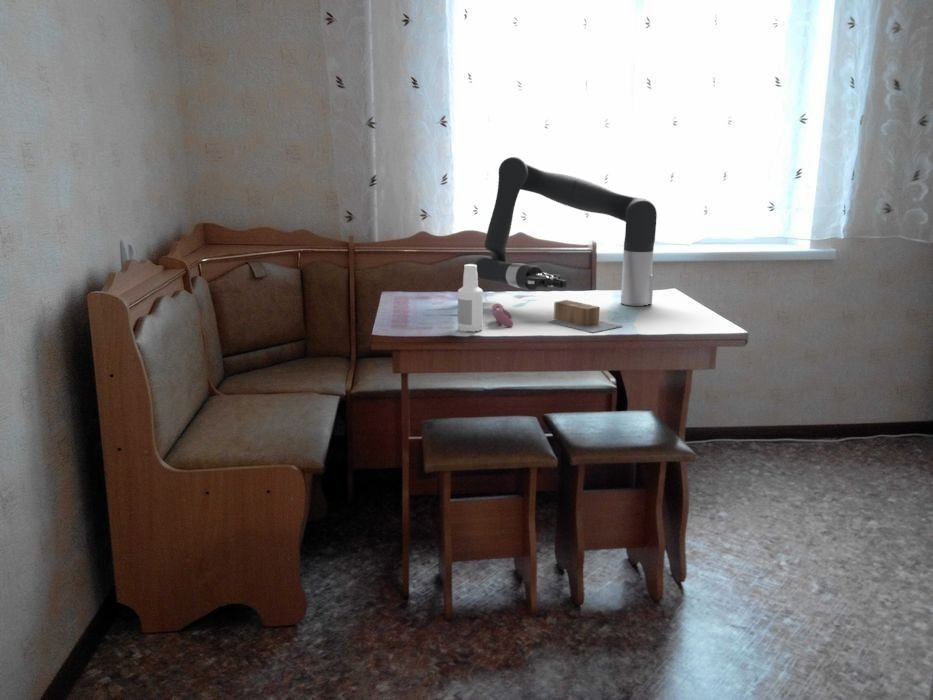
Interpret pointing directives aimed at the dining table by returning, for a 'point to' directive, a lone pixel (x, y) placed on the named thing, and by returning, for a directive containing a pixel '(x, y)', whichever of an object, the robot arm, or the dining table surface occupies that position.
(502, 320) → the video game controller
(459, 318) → the spray bottle
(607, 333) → the dining table surface
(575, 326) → the rubber mat
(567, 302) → the walnut block
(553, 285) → the robot arm
